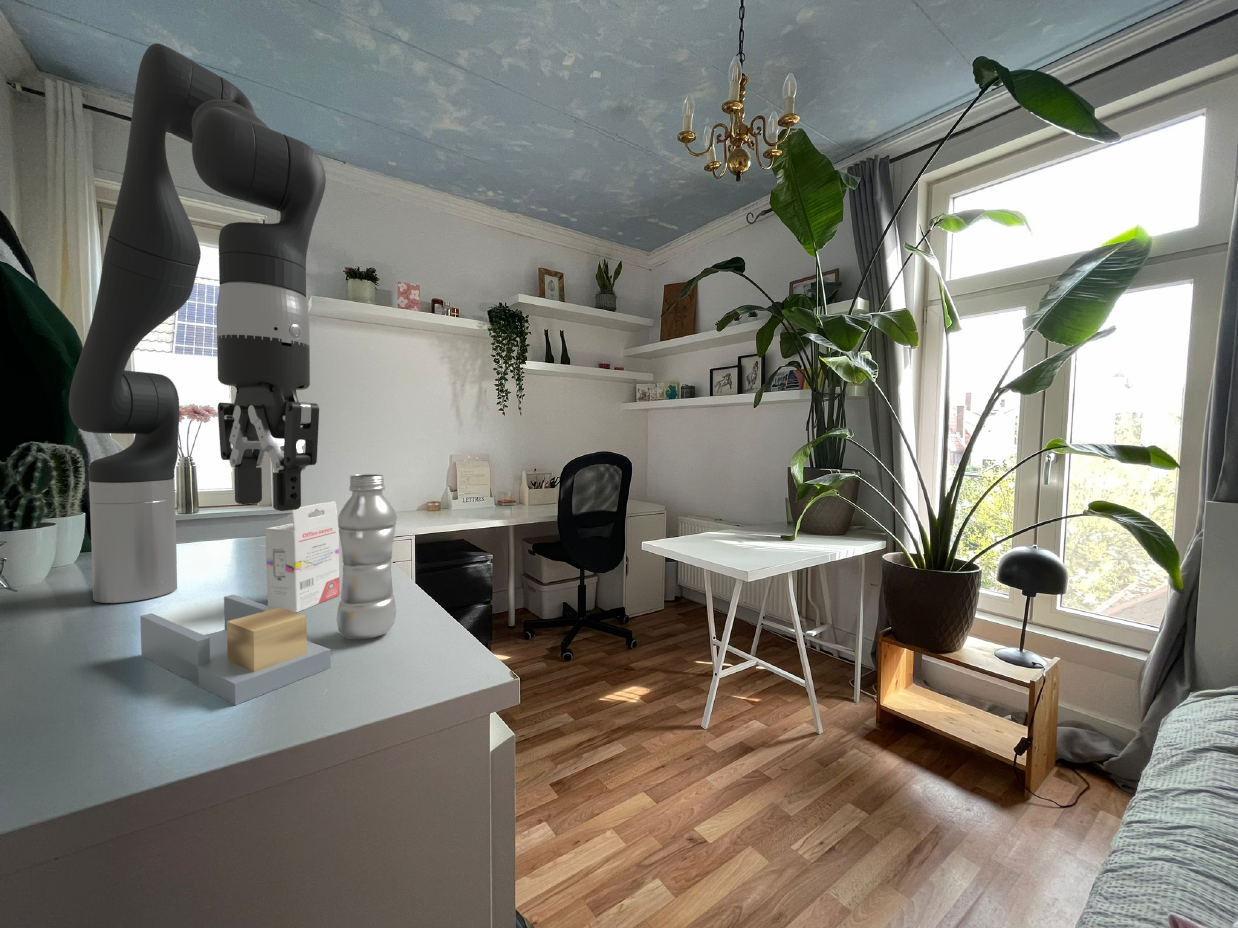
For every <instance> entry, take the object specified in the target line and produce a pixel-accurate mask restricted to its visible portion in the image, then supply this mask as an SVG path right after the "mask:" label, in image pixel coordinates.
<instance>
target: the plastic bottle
mask: <svg viewBox="0 0 1238 928" xmlns="http://www.w3.org/2000/svg"><path fill="white" fill-rule="evenodd" d="M348 489H349V491H350V492H352V493H351V496H350V497H349V499H348V500H347V501H346V503H345V504H344V505H343V507H342V508H341V510H340V511H339V514H338V516H337V518H338V528H339V543H340V547H341V560H342V561H341V563H342V582H341V587H340V588H341V591H340V600H339V603H338V605H337V611H336V612H337V613H336V624H337V629H338V632H339V633H340V634H341V635H342V636H343V638H345V639H348V640H366V639H367V640H368V639H372V638H376V637H381V636H382V635H384V634H387V633H388V632H389V631H390V630H391V629H392V628H393V626H394V624H395V621H396V615H397V608H396V600H395V596H394V590H393V588H394V587H393V578H392V576H393V575H392V557H393V544H394V540H395V533H396V527H397V526H396V525H397V512H396V510H395V509H394V507H393V505H392V504H391V503H390V501H388V500H387V498H386V497H385V495H384V494H383V491H385V490H386V486H385V478H384V474H374V473H372V474H369V473H367V474H366V473H365V474H351V475H350V477H349V487H348Z"/></svg>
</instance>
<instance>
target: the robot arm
mask: <svg viewBox="0 0 1238 928" xmlns="http://www.w3.org/2000/svg"><path fill="white" fill-rule="evenodd" d="M167 133H169V134H172V135H174V136H175V137H178V138H179V139H182V140H184V141H185V142H188V143H190V144H191V154H192V161H193V165H194V168H195V170H196V173H197V175H198V176H199V178H200V179H201V180H202V182H203V183H204V184H205V185H206V186H207V187H209V188H211V189H212V190H213V191H216V192H217V193H219V194H222V195H223V196H227V197H229V198H233V199H236V200H240V201H244V202H246V203H250V204H253V205H257V206H260V207H262V208H267V209H271V210H274V211H276V212H279V215H280V217H279V218H280V219H279V222H273V223H263V222H253V221H252V222H251V221H250V222H249V221H247V222H245V221H244V222H243V221H242V222H241V221H239V222H231V223H228V224H225V225H224V226H223V227H222V228H221V229H220V230H219V231H220V232H219V236H218V278H219V279H218V280H219V287H218V291H219V292H218V298H217V304H216V351H217V352H216V354H217V355H216V356H217V357H216V358H217V380H218V381H219V383H220V384H223V385H225V386H231V387H235V389H236V393H235V398H234V402H219V403H218V405H217V419H218V420H217V421H218V433H219V446H220V447H219V452H220V458H221V459H222V460H223V461H229V465H230V467H231V468H234V501H235V503H236V504H239V505H252V504H259V503H260V502H262V499H263V481H262V479H263V477H262V476H263V473H262V472H263V471H262V467H260V466H261V465H262V462H263V459H264V456H265V455H264V454H265V452H267V453H268V455H269V457H270V461H271V464H272V468H273V470H274V472H272V500H273V503H272V504H273V506H272V507H273V509H274V510H275V511H278V512H287V511H292V510H296V509H299V508H300V507H302V479H301V478H302V476H301V475H302V471H305V470H306V467H308V466H315V465H316V464H317V462H318V445H319V443H318V442H319V441H318V440H319V424H320V423H319V420H320V407H319V405H318V404H317V403H314V402H313V403H312V402H306V401H305V402H304V401H299V399H298V395H297V391H302V390H306V389H309V388H310V386H311V374H310V373H311V370H310V369H311V360H310V359H311V355H310V348H311V346H310V344H311V343H310V337H311V335H310V317H309V310H308V304H307V272H306V271H307V255H308V254H307V253H308V249H309V243H310V239H311V235H312V231H313V226H314V223H315V220H316V217H317V214H318V211H319V208H320V206H321V203H322V200H323V198H324V194H325V190H326V183H327V177H326V171H325V168H324V164H323V162H322V160H321V158H320V156H319V155H318V154H317V152H316V150H314V149H313V148H312V147H311V146H310V145H308V143H305V142H303V141H301V140H299V139H296V138H294V137H292V136H289V135H286V134H282V133H281V132H279V131H277V130H274V129H271V128H270V127H269V126H268V125H267V124H266V122H264V121H263V120H262V119H260V118H259V117H257V114H256V112H255V109H254V106H253V104H252V102H251V100H250V99H249V98H248V97H247V95H246V94H245V93H244V92H243V91H242V90H241V89H240V88H238V87H237V86H236V85H235V84H233V83H232V82H230V81H229V80H227V79H226V78H224V77H222V76H220V75H218V74H216V73H215V72H213V71H211V70H209V69H208V68H206V67H204V66H203V65H201V64H199V63H197V62H196V61H194V60H192V59H190V58H189V57H187V56H185V55H183V54H181V53H180V52H179V51H176V50H174V49H173V48H170V47H169V46H166V45H164V44H162V43H152V44H151V45H149V46H148V48H147V49H146V50H145V51H144V54H143V56H142V58H141V61H140V64H139V67H138V72H137V78H136V83H135V89H134V98H133V104H132V114H131V121H130V128H129V137H128V144H127V152H126V159H125V164H124V165H125V166H124V170H123V176H122V181H121V185H120V189H119V192H118V196H117V201H116V205H115V210H114V212H113V216H112V221H111V223H110V224H111V225H110V229H109V231H108V235H107V241H106V245H105V249H104V255H103V259H102V260H103V261H102V267H101V274H100V280H99V284H98V285H99V286H98V291H97V296H96V300H95V304H94V305H95V306H94V310H93V314H92V319H91V322H90V325H89V329H88V331H87V332H88V333H87V335H86V338H85V341H84V344H83V347H82V350H81V352H80V356H79V359H78V361H77V365H76V367H75V370H74V374H73V377H72V379H71V385H70V390H69V395H68V412H69V416H70V419H71V421H72V422H73V425H75V426H76V427H77V428H78V429H79V430H81V431H83V432H86V433H92V434H94V433H95V434H107V435H109V434H116V435H117V434H121V435H124V434H125V435H128V434H129V435H133V434H134V437H133V438H134V439H133V442H132V443H131V444H130V445H129V446H128V447H126V448H125V449H123V450H121V451H119V452H117V453H114V454H110V455H108V456H104V457H101V458H98V459H95V460H93V461H91V463H89V466H88V480H89V481H88V484H89V485H88V486H89V487H88V488H89V513H90V515H89V516H90V541H91V542H90V543H91V568H92V569H91V576H92V600H93V601H94V602H96V603H101V604H103V603H104V604H109V603H110V604H117V603H118V604H119V603H128V602H136V601H143V600H148V599H154V598H158V597H160V596H164V595H167V594H170V593H173V592H174V591H176V590H177V589H178V569H177V568H178V565H177V563H178V562H177V561H178V560H177V559H178V558H177V556H178V555H177V521H176V520H177V519H176V516H177V515H176V513H177V512H176V491H175V490H176V489H175V487H176V485H175V484H176V483H175V478H176V477H175V469H176V465H177V461H178V458H179V457H178V454H179V453H178V452H179V430H180V429H179V428H180V398H179V393H178V389H177V387H176V385H175V383H174V382H173V381H172V379H171V378H169V377H168V376H166V375H163V374H160V373H155V372H145V371H143V372H142V371H134V370H126V366H127V365H128V363H129V360H130V358H131V355H132V354H133V352H134V351H135V349H136V347H137V346H138V345H139V344H140V342H142V340H143V339H144V338H145V337H146V336H147V335H148V334H150V333H151V332H152V331H153V330H155V329H157V328H158V327H159V326H160V325H161V324H162V323H164V322H165V321H167V320H168V319H170V317H172V315H174V314H175V313H177V312H178V311H179V310H180V309H182V307H183V306H184V305H185V304H186V303H187V302H188V301H189V299H190V297H191V295H192V294H193V293H192V292H193V290H194V285H195V282H196V277H197V272H198V270H199V265H200V262H201V256H202V255H201V254H202V252H201V247H200V244H199V243H200V242H199V240H198V237H197V234H196V232H195V229H194V227H193V225H192V222H191V221H190V218H189V216H188V214H187V212H186V210H185V207H184V205H183V204H182V202H181V199H180V196H179V194H178V192H177V189H176V186H175V183H174V181H173V177H172V175H171V171H170V168H169V167H170V166H169V165H168V164H169V163H168V159H167V150H166V134H167ZM304 445H305V449H304V452H303V449H302V447H303V446H304ZM282 452H283V453H282Z"/></svg>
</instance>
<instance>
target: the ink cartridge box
mask: <svg viewBox="0 0 1238 928" xmlns="http://www.w3.org/2000/svg"><path fill="white" fill-rule="evenodd" d="M315 511H317V512H318V513H319V512H322V514H321V515H317V516H312V517H309V514H313V513H314V512H315ZM291 516H292V523H287V524H283V525H277V526H272V527H267V528H265V529H264V530H265V557H266V558H265V559H266V587H267V592H266V593H267V606H270V607H273V608H279V607H280V608H283V609H286V610H289V611H292V612H295V613H300V612H302V611H304V610H307V609H310V608H311V607H314V606H316V605H319V604H321V603H323V602H326V601H328V600H330V599H333V598H335V597H338V596H339V595H341V591H340V536H339V528H338V507H337V502H336V501H335V500H332V501H328V502H319V503H314V504H310V505H309V504H307V505H304V506H300V508H299V509H296V510H291Z"/></svg>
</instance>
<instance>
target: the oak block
mask: <svg viewBox="0 0 1238 928" xmlns="http://www.w3.org/2000/svg"><path fill="white" fill-rule="evenodd" d="M307 630H308V629H307V615H305V614H301V613H300V612H297V613H295V612H292V611H289V610H286V609H283V608H280V607H279V608H275V609H271V610H268V611H264V612H260V613H257V614H253V615H249V616H245V617H242V618H238V619H234V620H230V621H227V653H228V661H230V662H233V663H235V664H237V665H239V666H242V667H244V668H246V669H248V670H251V671H253V672H256V671H259V670H262V669H265V668H268V667H270V666H273V665H276V664H279V663H282V662H284V661H287V660H290V659H293V658H295V657H298V656H301V655H304V654H307V641H308V637H307V633H308V631H307Z"/></svg>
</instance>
